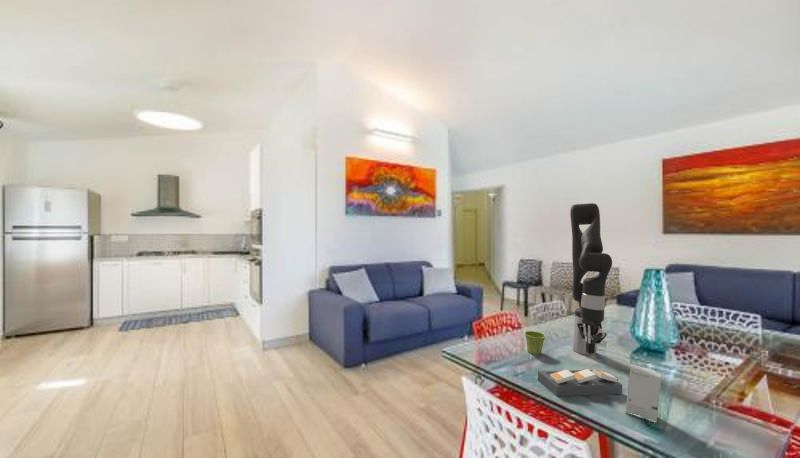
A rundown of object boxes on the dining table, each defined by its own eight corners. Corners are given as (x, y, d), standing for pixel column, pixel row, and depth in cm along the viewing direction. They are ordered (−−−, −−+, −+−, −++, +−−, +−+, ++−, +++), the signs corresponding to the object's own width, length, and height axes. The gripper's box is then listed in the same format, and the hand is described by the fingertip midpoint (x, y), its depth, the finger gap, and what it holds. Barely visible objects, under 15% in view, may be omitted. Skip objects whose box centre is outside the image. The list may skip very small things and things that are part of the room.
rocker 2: (587, 372, 124) (587, 368, 124) (596, 377, 120) (595, 374, 119) (571, 377, 123) (570, 373, 123) (579, 383, 119) (578, 379, 118)
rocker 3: (607, 376, 125) (608, 372, 125) (616, 382, 121) (617, 378, 121) (591, 372, 124) (593, 368, 124) (600, 377, 120) (601, 373, 120)
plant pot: (547, 357, 151) (548, 338, 151) (525, 354, 153) (526, 336, 153) (542, 349, 160) (543, 332, 160) (522, 347, 162) (523, 330, 162)
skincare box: (625, 414, 107) (628, 368, 106) (627, 406, 111) (630, 363, 111) (658, 425, 101) (661, 377, 101) (659, 416, 106) (661, 371, 106)
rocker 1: (567, 372, 123) (566, 369, 123) (575, 378, 118) (574, 374, 118) (550, 378, 122) (549, 374, 122) (557, 383, 117) (557, 379, 117)
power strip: (610, 378, 132) (611, 367, 132) (636, 393, 121) (637, 381, 120) (537, 379, 128) (538, 368, 128) (556, 396, 116) (557, 383, 116)
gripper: (615, 311, 115) (612, 360, 115) (589, 302, 128) (586, 346, 129) (596, 311, 114) (593, 360, 114) (571, 302, 127) (569, 346, 128)
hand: (589, 352), depth 121 cm, fingers closed
